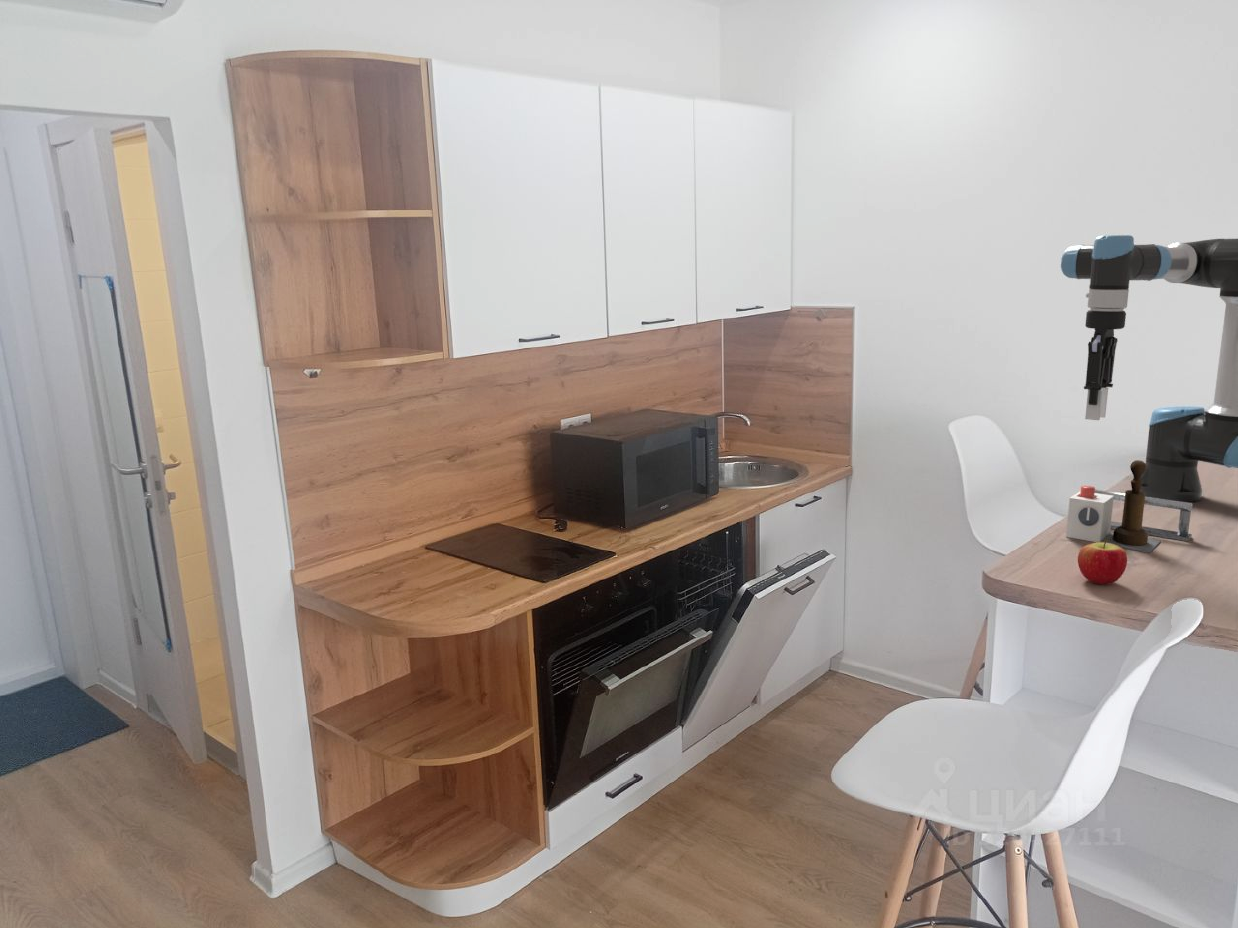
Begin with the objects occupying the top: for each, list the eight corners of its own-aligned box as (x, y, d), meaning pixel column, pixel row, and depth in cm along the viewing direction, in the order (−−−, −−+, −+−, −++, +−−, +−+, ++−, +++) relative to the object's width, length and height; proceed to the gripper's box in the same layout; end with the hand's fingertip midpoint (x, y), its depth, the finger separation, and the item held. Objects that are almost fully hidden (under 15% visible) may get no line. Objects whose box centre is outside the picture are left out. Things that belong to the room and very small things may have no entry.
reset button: (1081, 504, 214) (1083, 485, 213) (1094, 506, 212) (1096, 487, 211) (1077, 507, 212) (1079, 487, 211) (1090, 509, 210) (1092, 489, 209)
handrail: (1089, 520, 224) (1093, 487, 222) (1191, 537, 211) (1196, 501, 209) (1085, 524, 222) (1089, 490, 220) (1188, 541, 208) (1192, 505, 206)
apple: (1088, 590, 179) (1094, 539, 177) (1068, 575, 187) (1073, 526, 185) (1132, 589, 179) (1138, 539, 177) (1109, 574, 187) (1115, 526, 185)
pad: (1110, 533, 214) (1111, 532, 214) (1160, 541, 208) (1160, 540, 208) (1098, 543, 207) (1098, 542, 207) (1149, 552, 201) (1149, 551, 200)
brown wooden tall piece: (1144, 538, 209) (1153, 458, 205) (1149, 547, 203) (1159, 465, 199) (1110, 535, 211) (1119, 456, 208) (1115, 544, 205) (1124, 463, 202)
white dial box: (1076, 528, 218) (1080, 490, 216) (1109, 534, 214) (1113, 495, 212) (1064, 537, 211) (1068, 498, 210) (1098, 543, 207) (1102, 503, 205)
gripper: (1098, 307, 211) (1087, 411, 216) (1076, 311, 199) (1065, 421, 204) (1135, 308, 206) (1124, 414, 211) (1115, 312, 194) (1103, 425, 199)
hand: (1095, 417), depth 208 cm, fingers open, 4 cm apart
